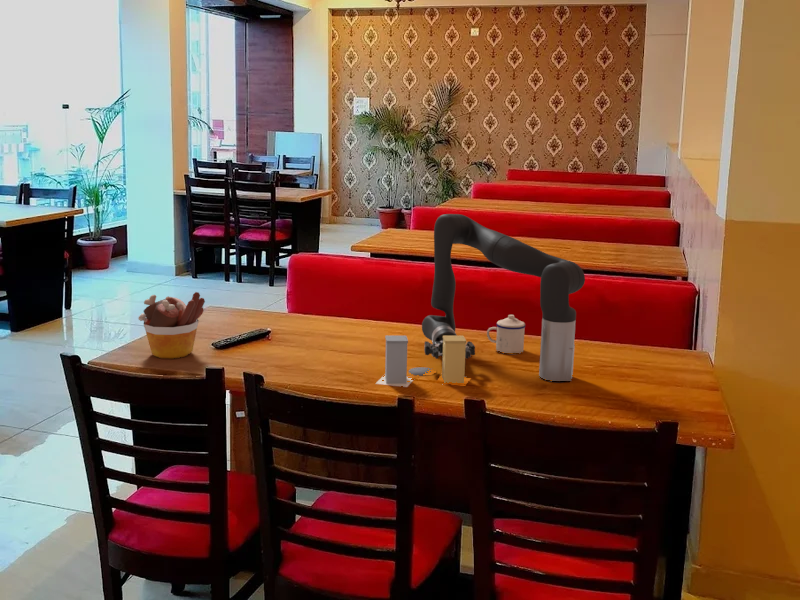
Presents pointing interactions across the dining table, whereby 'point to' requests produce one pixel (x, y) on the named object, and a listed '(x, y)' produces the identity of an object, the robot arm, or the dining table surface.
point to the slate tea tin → (396, 359)
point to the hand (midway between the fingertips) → (452, 355)
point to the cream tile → (394, 384)
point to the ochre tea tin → (453, 359)
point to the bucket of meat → (171, 325)
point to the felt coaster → (419, 371)
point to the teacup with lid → (509, 335)
